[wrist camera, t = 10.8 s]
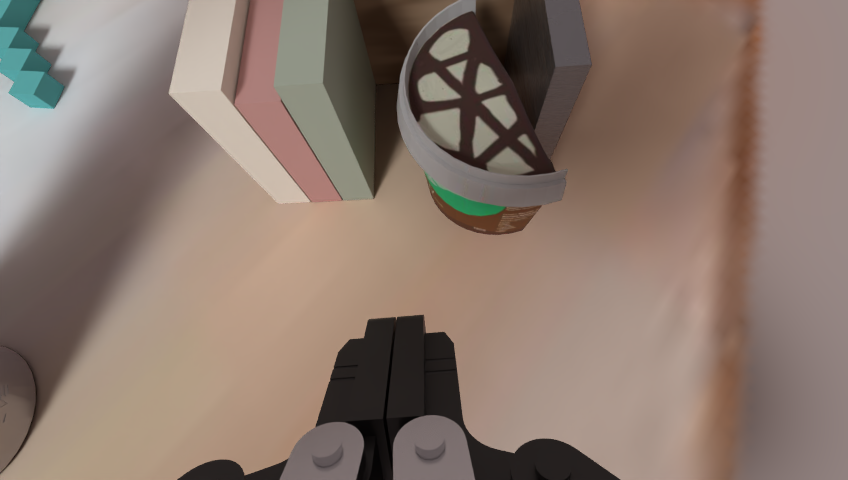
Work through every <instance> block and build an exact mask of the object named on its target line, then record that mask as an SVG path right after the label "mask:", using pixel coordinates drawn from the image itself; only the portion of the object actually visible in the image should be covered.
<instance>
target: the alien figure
mask: <svg viewBox="0 0 848 480" xmlns="http://www.w3.org/2000/svg"><path fill="white" fill-rule="evenodd" d="M39 2H40V0H0V58H1V59H2V60H1V62H0V72H1V73H2V74H4V75H5V76H6V77H8V78H9V79H11V80H12V81H14V84H13V86H12V87H11V89H10V91H9V94H11V95H12V96H14V97H15V98H17V99H18V100H20V101H21V102H23V103H25V104H26V105H28V106H29V107H34V108H53V109H54V108H55V106H56V104H57V102H58V99H59V97H60V95H61V93H62V91H63V89H64V86H63V85H62V84H60V83H59V82H58V81H56V80H55V79H54V78H52V77H51V76H50V75H48V74H47V73H48V71H49V69H50V67H51V64H50V63H49V62H48V61H46V60H45V59H44V58H42V57H41V56H40V55H39V54H37V53H36V52H35V51H36V49H37V47H38V45H39V43H38V42H36V41H35V40H34V39H33V38H32V37H30V36H29V35H28V34H27V33H25V32H24V30H25V28H26V26H27V24H28V22H29V21H30V19H31V17H32V15H33V13H34V11H35V10H36V8H37V6H38V4H39Z"/></svg>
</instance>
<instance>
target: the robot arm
mask: <svg viewBox="0 0 848 480" xmlns="http://www.w3.org/2000/svg"><path fill="white" fill-rule="evenodd" d="M35 402H36V396H35V383H34V379H33V375H32V372H31V370H30V368H29V366H28V365H27V363H26V361H25V360H24V359H23V358H22V357H21V356H20V355H19V354H18V353H16V352H14V351H12V350H10V349H8V348H6V347H2V346H0V472H1V471H2V470H3V469H4V468H5V467H6V466H7V465H8V463H9V462H10V461H11V459H12V458H13V457H14V455H15V454H16V453H17V452H18V450H19V448H20V446H21V444H22V442H23V441H24V439H25V437H26V435H27V432H28V430H29V427H30V424H31V421H32V418H33V413H34V408H35ZM177 480H620V479H619V478H617V477H616V476H614V475H613V474H611V473H610V472H609V471H607V470H606V469H604V468H603V467H601V466H600V465H599V464H597V463H596V462H594V461H593V460H591V459H590V458H588V457H587V456H586V455H584V454H583V453H581V452H580V451H578V450H577V449H575V448H574V447H572V446H571V445H569V444H566V443H564V442H561V441H558V440H554V439H535V440H532V441H529V442H527V443H525V444H523V445H522V446H521V447H519V448H518V450H517V451H516V452H515V453H510V452H506V451H501V450H497V449H494V448H490V447H488V446H486V445H484V444H482V443H480V442H479V441H477V440H476V439H475V438H474V437H473V436H472V435H471V434H470V433H469V432H468V430H467V429H466V427H465V425H464V422H463V417H462V409H461V400H460V392H459V384H458V375H457V367H456V359H455V350H454V343H453V342H452V341H451V339H450V338H449V337H448V336H447V335H446V333H445V332H437V333H426V329H425V320H424V315H415V316H402V317H397V320H396V317H391V318H378V319H369V320H368V323H367V327H366V332H365V336H364V338H361V339H350V340H349V341H348V342H347V343H346V344H345V345H344V347H343V348H342V349H341V350H340V351H339V352H338V355H337V358H336V362H335V365H334V369H333V371H332V375H331V378H330V382H329V384H328V388H327V391H326V394H325V397H324V401H323V404H322V407H321V411H320V414H319V417H318V420H317V424H316V427H315V428H314V429H312V430H310V431H309V432H307V433H306V434H305V435H304V436H303V437H302V438H301V439H300V440H299V441H298V442H297V443H296V445H295V446H294V448H293V450H292V452H291V455H290V457H289V459H287V460H285V461H283V462H281V463H279V464H276V465H274V466H271V467H268V468H265V469H262V470H260V471H257V472H254V473H251V474H248V475H244V472H243V470H242V468H241V467H240V465H239V464H237V463H236V462H233V461H231V460H215V461H210V462H207V463H204V464H202V465H200V466H197V467H196V468H194V469H192V470H190V471H189V472H187V473H186V474H184V475H183V476H182V477H180V478H179V479H177Z"/></svg>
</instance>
